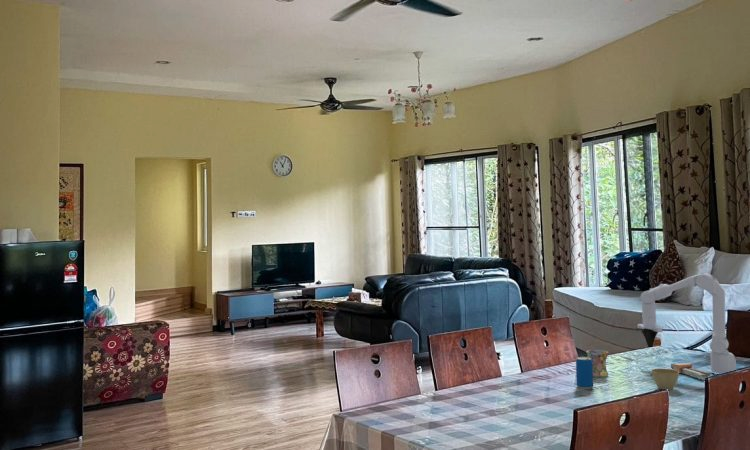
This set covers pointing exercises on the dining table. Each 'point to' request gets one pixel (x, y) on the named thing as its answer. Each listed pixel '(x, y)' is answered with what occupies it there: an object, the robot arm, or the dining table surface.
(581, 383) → the beverage can
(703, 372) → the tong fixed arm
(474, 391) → the dining table surface
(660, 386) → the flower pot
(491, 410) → the dining table surface
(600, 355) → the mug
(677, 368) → the sleeve
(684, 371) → the tong jaw
